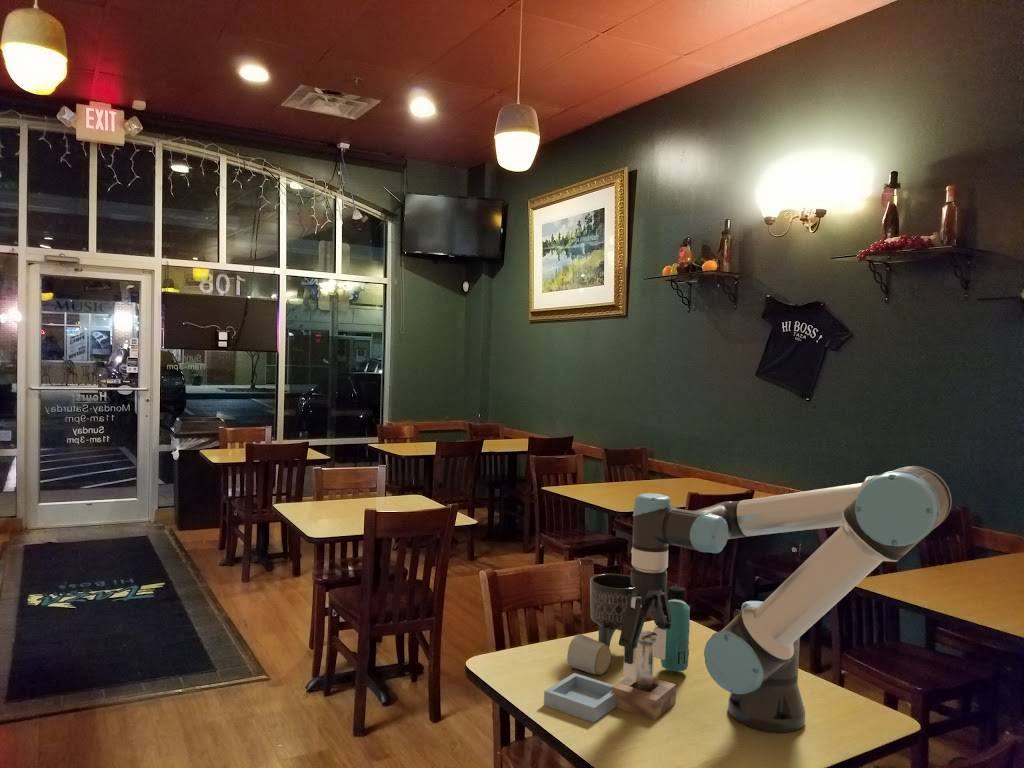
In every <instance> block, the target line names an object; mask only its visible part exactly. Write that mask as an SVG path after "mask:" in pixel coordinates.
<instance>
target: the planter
mask: <svg viewBox="0 0 1024 768" xmlns="http://www.w3.org/2000/svg"><path fill="white" fill-rule="evenodd" d="M589 582H590V583H589V584H590V585H589V587H590V588H589V592H590V594H589V595H590V596H589V597H590V598H589V599H590V601H589V602H590V603H589V604H590V607H589V608H590V618H591V620H592V621H593V622H594V623H596V624H597V625H598V641H599V642H602V643H604V644H605V645H607V646H608V647H609V648H610V645H611V641H612V637H613V635H614V633H615V632H616V630H618V631H620V632H621V631H622V627H623V623H624V619H625V615H626V611H627V605H628V598H629V596H631V597H635V596H636V592H637V590H636V588H635V587H633V586H632V585H631V575H625V574H620V573H619V574H618V573H603V574H596V575H594V576H592V577H591V578H590V579H589ZM637 646H638V642H637V645H636V647H637Z"/></svg>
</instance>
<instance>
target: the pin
mask: <svg viewBox="0 0 1024 768" xmlns="http://www.w3.org/2000/svg"><path fill="white" fill-rule="evenodd" d="M655 642H657V634H656V633H654V632H653V631H651V630H643V629H642V630H641V633H640V636H639V639H638V644H637V647H638V661H637V679H636V689H640V690H643V691H646V692H649V693H650V692H651V691H652V690H653V678H654V667H655V666H654V665H655V657H654V644H655Z"/></svg>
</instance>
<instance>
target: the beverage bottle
mask: <svg viewBox="0 0 1024 768" xmlns="http://www.w3.org/2000/svg"><path fill="white" fill-rule="evenodd" d="M686 592H687V590H686V588H685V587H682V586H678V585H677V586H676V585H673V586H669V587H668V590H667V597H669V598H670V600H669V599H668V602H669V608H670V613H671V618H672V621H671V623H669V624H671V629H667V628H666V650H665V659H664V660H662V659H659V660H660V664H661V666H662V668H664V669H665V670H668V671H673V672H683V671H686V670H688V667H689V662H690V661H689V656H690V647H689V646H690V634H691V633H690V631H691V630H690V627H691V622H690V617H691V616H690V611H691V607H690V605H689V604H687V603H686V602H685V601H684V600H685V599H686V598H687V595H686V594H687V593H686ZM665 616H666V615H665Z"/></svg>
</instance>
